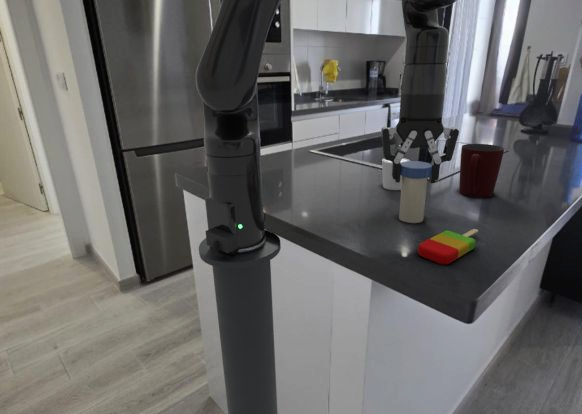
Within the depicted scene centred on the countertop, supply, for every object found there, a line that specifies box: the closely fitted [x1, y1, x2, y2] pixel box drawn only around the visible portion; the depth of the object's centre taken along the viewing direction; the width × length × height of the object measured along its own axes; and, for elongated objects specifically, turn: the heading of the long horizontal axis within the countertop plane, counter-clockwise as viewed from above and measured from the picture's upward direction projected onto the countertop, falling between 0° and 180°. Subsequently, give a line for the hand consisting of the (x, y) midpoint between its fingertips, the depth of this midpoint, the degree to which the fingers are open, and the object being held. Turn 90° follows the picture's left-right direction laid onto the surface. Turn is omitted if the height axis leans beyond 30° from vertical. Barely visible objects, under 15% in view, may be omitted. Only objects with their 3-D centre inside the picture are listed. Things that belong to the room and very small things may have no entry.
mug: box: [458, 143, 505, 199], centre depth 88 cm, size 12×9×11 cm
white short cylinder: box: [381, 157, 411, 191], centre depth 95 cm, size 7×7×7 cm
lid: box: [400, 160, 432, 179], centre depth 73 cm, size 6×6×2 cm
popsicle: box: [417, 228, 479, 265], centre depth 64 cm, size 6×15×2 cm, turn 131°
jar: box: [398, 176, 429, 224], centre depth 75 cm, size 5×5×11 cm
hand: (414, 181), depth 74 cm, fingers closed on lid, 6 cm apart
